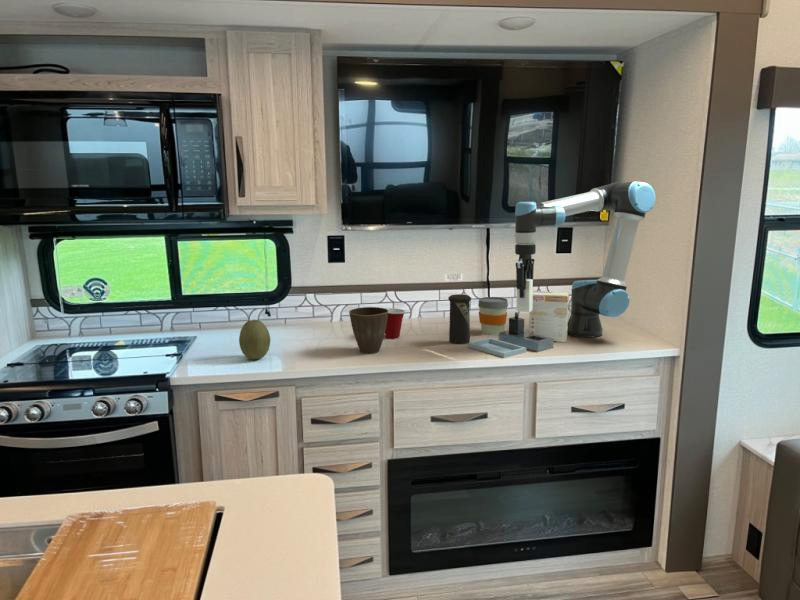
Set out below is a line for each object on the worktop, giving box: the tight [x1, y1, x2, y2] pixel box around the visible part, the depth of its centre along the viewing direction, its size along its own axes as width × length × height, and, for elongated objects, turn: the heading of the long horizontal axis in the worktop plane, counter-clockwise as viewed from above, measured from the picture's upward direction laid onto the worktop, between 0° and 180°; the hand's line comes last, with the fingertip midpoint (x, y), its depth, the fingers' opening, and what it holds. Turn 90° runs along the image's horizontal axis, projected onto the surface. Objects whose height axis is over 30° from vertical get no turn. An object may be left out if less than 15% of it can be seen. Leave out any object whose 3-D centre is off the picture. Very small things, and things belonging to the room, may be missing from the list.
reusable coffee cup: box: [477, 296, 509, 336], centre depth 254 cm, size 13×13×15 cm
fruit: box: [238, 319, 271, 361], centre depth 220 cm, size 11×11×15 cm
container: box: [447, 293, 472, 345], centre depth 238 cm, size 9×9×20 cm
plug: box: [516, 276, 534, 313], centre depth 226 cm, size 5×4×14 cm
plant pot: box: [348, 306, 388, 355], centre depth 229 cm, size 15×15×16 cm
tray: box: [467, 337, 528, 359], centre depth 228 cm, size 12×19×2 cm, turn 37°
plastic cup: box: [384, 307, 406, 340], centre depth 250 cm, size 11×11×12 cm
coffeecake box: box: [528, 290, 570, 343], centre depth 244 cm, size 15×7×20 cm, turn 70°
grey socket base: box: [498, 311, 554, 353], centre depth 233 cm, size 9×20×13 cm, turn 37°
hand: (524, 304), depth 227 cm, fingers closed on plug, 3 cm apart
